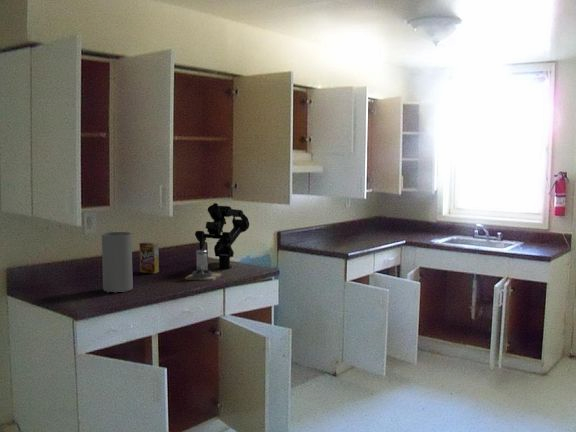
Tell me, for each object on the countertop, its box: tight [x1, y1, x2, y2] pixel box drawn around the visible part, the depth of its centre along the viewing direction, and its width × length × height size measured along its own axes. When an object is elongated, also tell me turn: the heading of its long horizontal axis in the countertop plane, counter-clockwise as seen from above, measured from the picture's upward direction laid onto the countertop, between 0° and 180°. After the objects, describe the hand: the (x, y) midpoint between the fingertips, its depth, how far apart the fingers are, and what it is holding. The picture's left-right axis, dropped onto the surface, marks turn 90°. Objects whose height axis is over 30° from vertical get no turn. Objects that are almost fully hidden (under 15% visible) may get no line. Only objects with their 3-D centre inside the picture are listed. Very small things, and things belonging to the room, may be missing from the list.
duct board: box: [184, 272, 223, 282], centre depth 286 cm, size 14×14×1 cm
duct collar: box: [192, 270, 213, 278], centre depth 283 cm, size 9×9×2 cm
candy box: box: [139, 241, 160, 274], centre depth 296 cm, size 9×4×15 cm, turn 69°
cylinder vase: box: [101, 231, 134, 294], centre depth 256 cm, size 12×12×25 cm
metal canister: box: [195, 249, 209, 274], centre depth 283 cm, size 6×6×12 cm
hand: (208, 250), depth 290 cm, fingers open, 9 cm apart
